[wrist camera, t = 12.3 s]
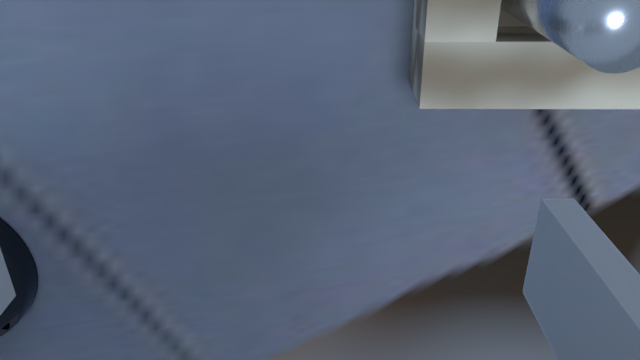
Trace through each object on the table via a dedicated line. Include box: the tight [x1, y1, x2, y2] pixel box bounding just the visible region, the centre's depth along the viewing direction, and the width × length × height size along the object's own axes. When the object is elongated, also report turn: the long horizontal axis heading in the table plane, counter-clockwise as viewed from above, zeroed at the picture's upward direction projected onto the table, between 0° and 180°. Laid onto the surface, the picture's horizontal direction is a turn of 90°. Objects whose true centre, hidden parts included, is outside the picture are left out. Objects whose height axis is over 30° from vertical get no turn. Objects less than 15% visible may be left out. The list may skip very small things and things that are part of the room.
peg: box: [501, 0, 640, 74], centre depth 29 cm, size 4×4×14 cm
